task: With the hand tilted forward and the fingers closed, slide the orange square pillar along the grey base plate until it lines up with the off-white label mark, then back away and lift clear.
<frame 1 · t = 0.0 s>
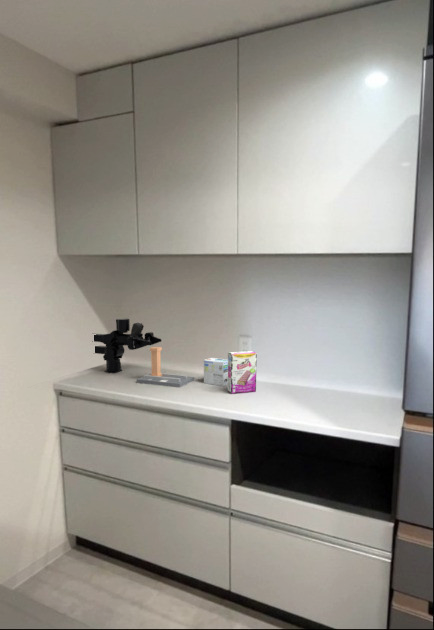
hand: (156, 341, 207), 17 cm above the worktop, tool horizontal, fingers open, 9 cm apart
light bulb box: (217, 383, 193), on the worktop
grey base plate: (165, 381, 197), on the worktop
candy bar box: (242, 392, 179), on the worktop
orange square pillar: (156, 362, 198), point 8 cm above the worktop, slide at 0.0 cm
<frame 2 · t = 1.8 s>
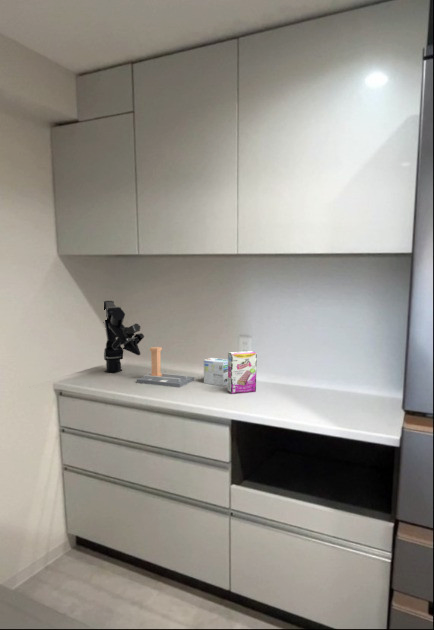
hand: (139, 354, 201), 11 cm above the worktop, tool tilted 45°, fingers closed
nothing on the worktop moved.
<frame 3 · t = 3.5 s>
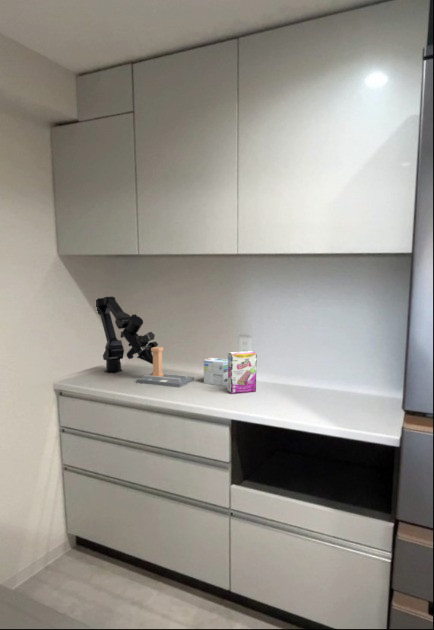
hand: (154, 363, 198), 8 cm above the worktop, tool tilted 45°, fingers closed, pressing on orange square pillar
orange square pillar: (157, 362, 198), point 8 cm above the worktop, slide at 0.8 cm, touching gripper
everything else where it was.
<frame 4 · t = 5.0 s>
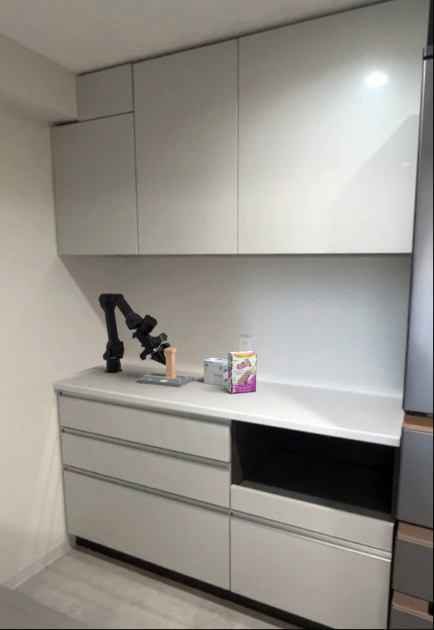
hand: (167, 364, 196), 8 cm above the worktop, tool tilted 45°, fingers closed, pressing on orange square pillar
orange square pillar: (170, 363, 195), point 8 cm above the worktop, slide at 7.6 cm, touching gripper
everything else where it was.
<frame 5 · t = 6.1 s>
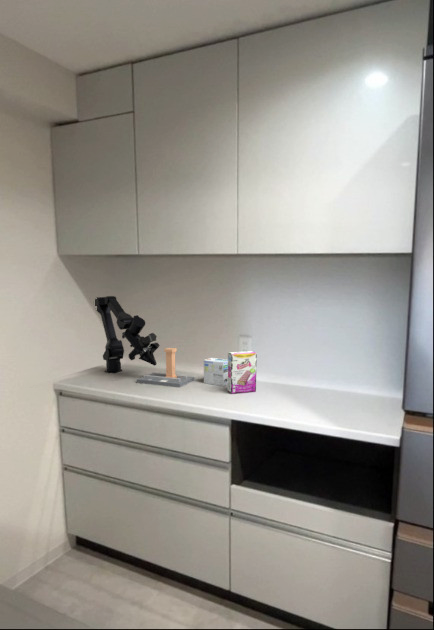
hand: (155, 364, 199), 7 cm above the worktop, tool tilted 45°, fingers closed
orange square pillar: (170, 363, 195), point 9 cm above the worktop, slide at 7.7 cm
everything else where it was.
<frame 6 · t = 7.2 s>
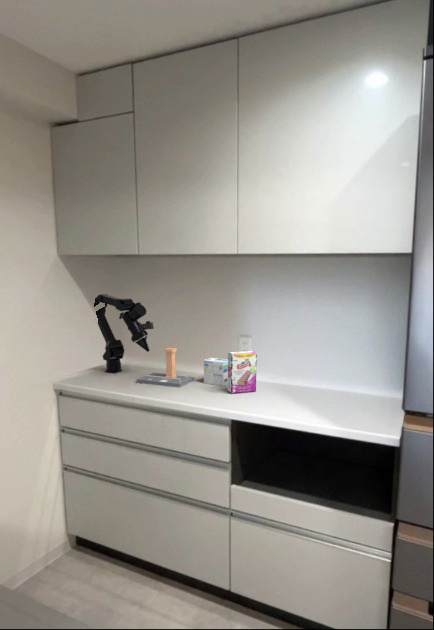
hand: (148, 351, 207), 12 cm above the worktop, tool tilted 30°, fingers closed
nothing on the worktop moved.
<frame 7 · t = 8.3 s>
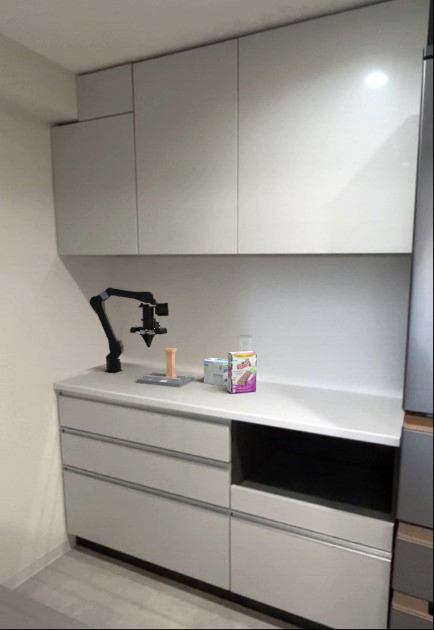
hand: (148, 347, 218), 12 cm above the worktop, tool pointing down, fingers closed
nothing on the worktop moved.
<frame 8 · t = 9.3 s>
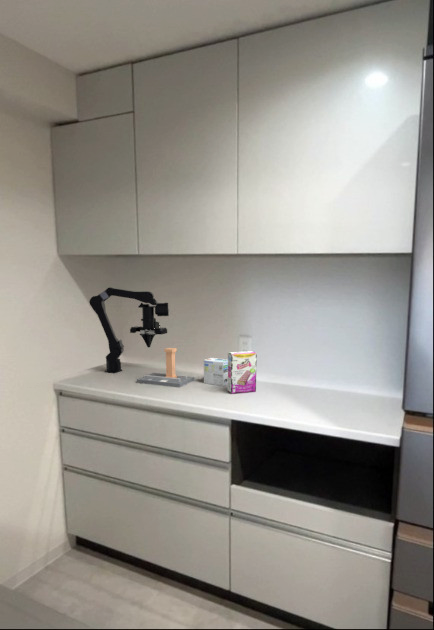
hand: (148, 347, 218), 12 cm above the worktop, tool pointing down, fingers closed
nothing on the worktop moved.
at the end: orange square pillar slide at 7.7 cm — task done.
